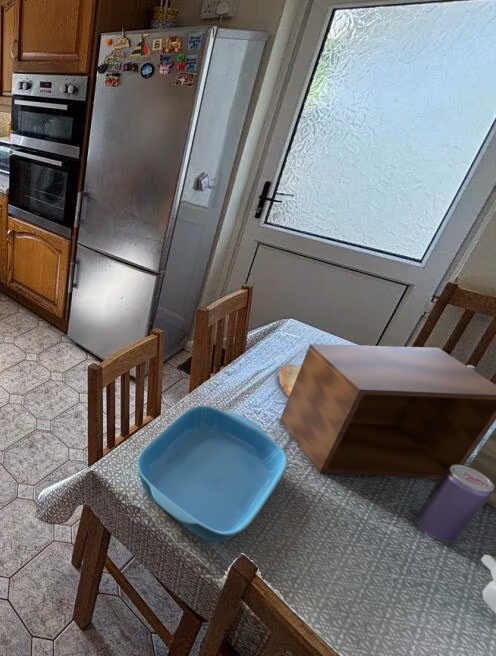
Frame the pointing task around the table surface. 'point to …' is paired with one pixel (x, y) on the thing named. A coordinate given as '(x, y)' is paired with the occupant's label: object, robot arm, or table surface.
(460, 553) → the table surface
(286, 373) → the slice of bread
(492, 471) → the cupboard door
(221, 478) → the casserole dish
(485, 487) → the beverage can
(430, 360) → the cupboard
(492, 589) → the robot arm
